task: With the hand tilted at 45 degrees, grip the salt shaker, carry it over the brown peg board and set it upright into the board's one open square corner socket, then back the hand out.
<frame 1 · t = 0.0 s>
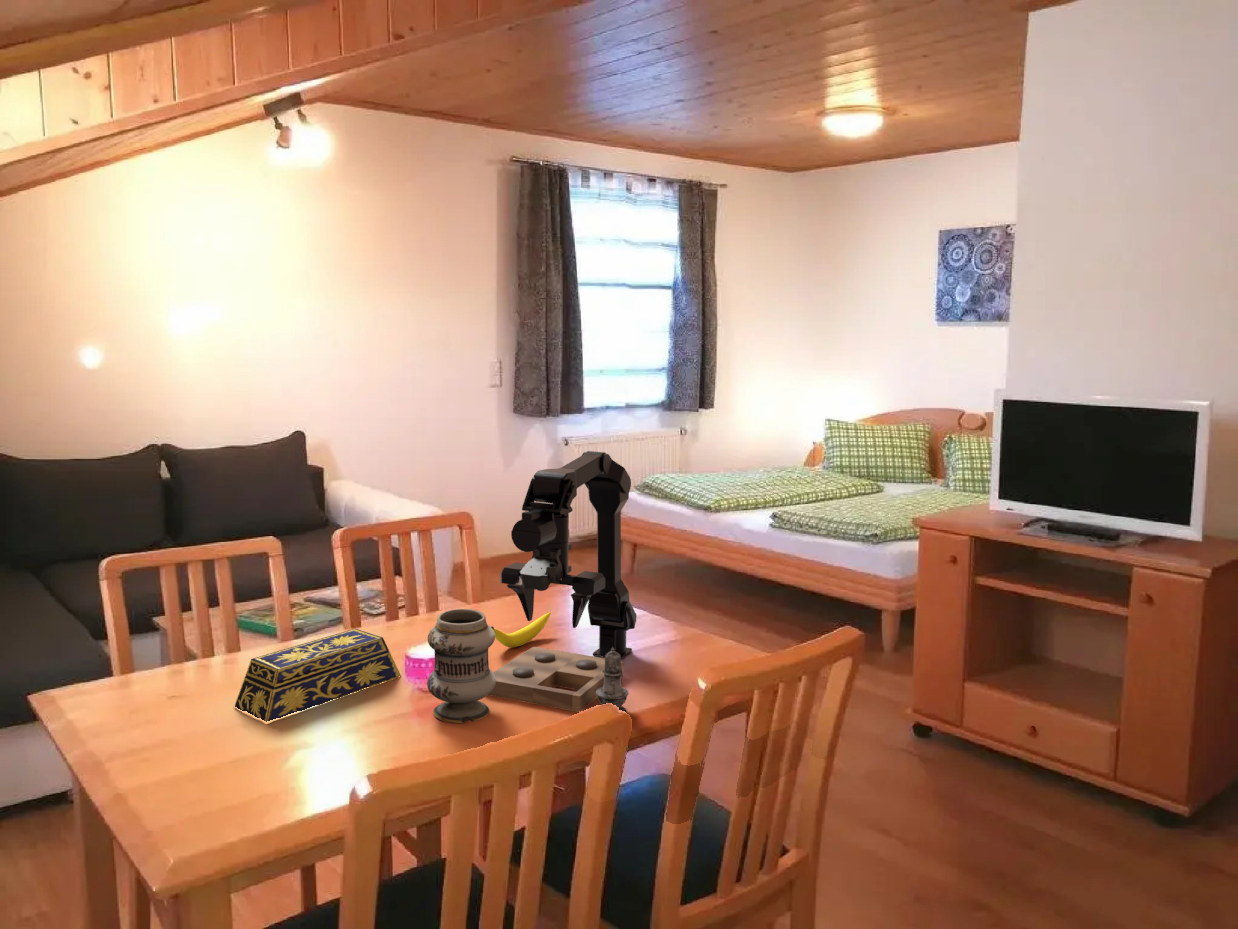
hand: (552, 624, 181), 15 cm above the table, tool pointing down, fingers open, 9 cm apart
brown peg board: (554, 684, 191), on the table
apothecary jar: (462, 713, 177), on the table
decorative box: (320, 695, 186), on the table
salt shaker: (611, 712, 179), on the table
banana: (521, 645, 214), on the table
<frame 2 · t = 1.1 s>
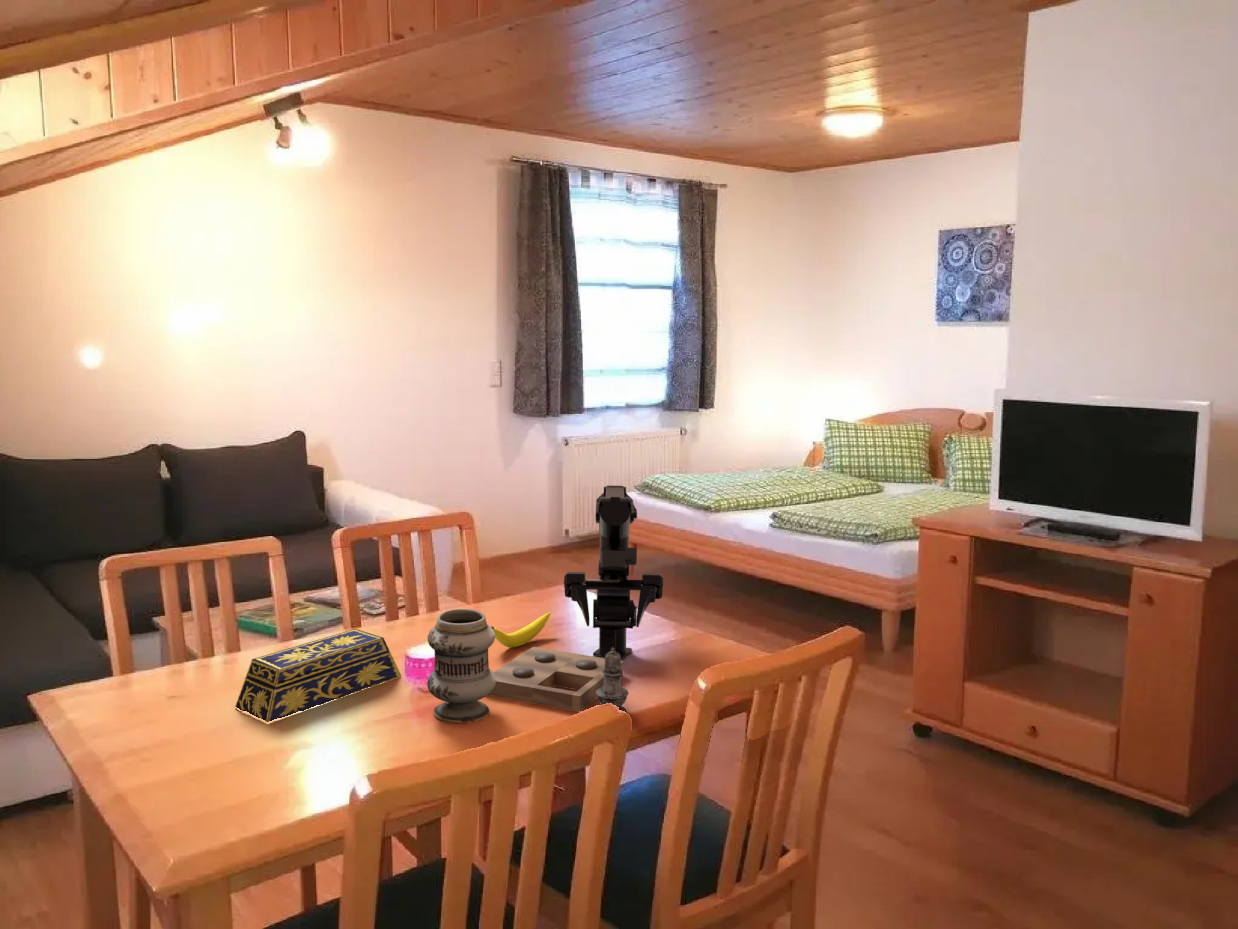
hand: (612, 625, 185), 13 cm above the table, tool tilted 45°, fingers open, 9 cm apart
nothing on the table moved.
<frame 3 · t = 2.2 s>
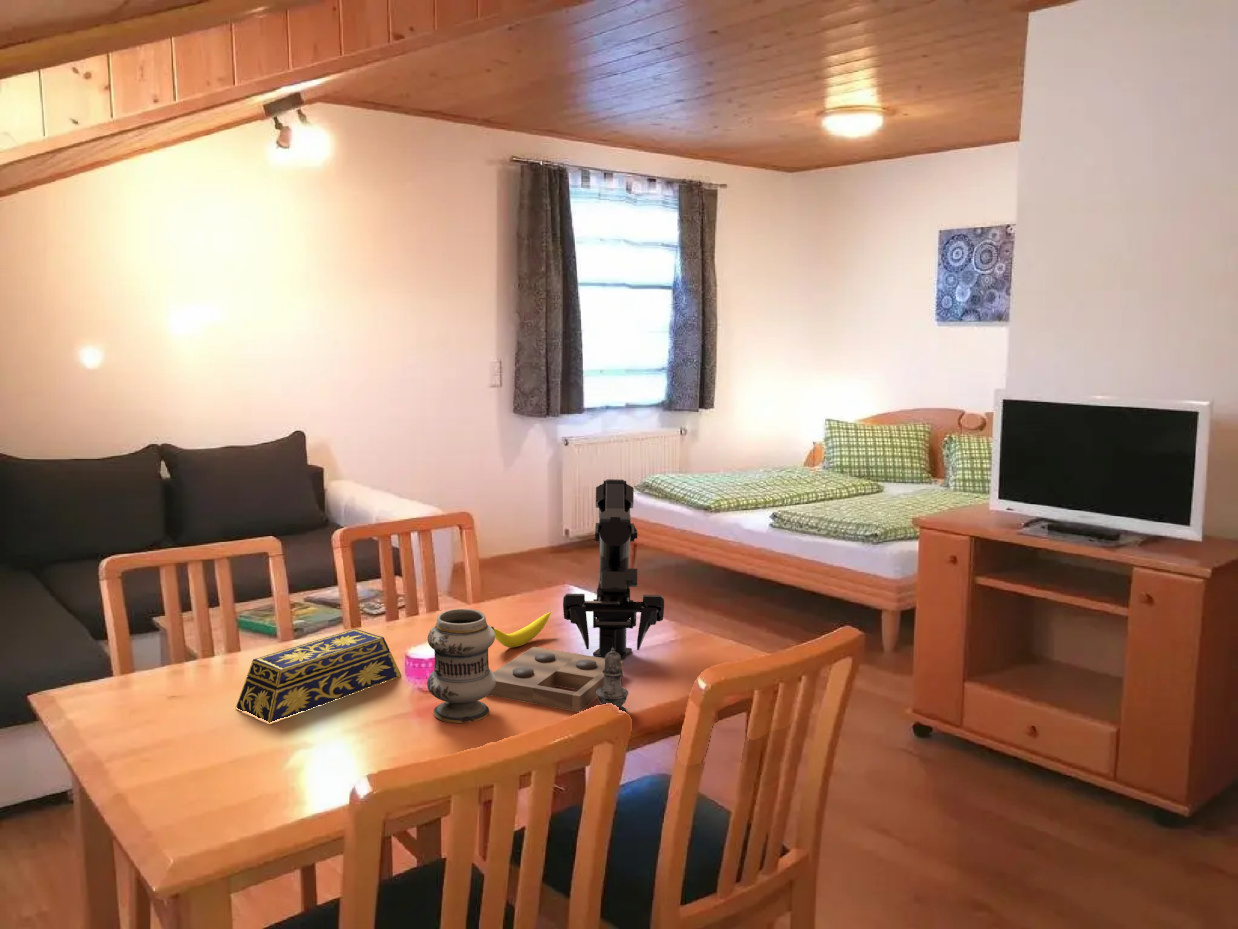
hand: (612, 648, 180), 11 cm above the table, tool tilted 45°, fingers open, 9 cm apart
nothing on the table moved.
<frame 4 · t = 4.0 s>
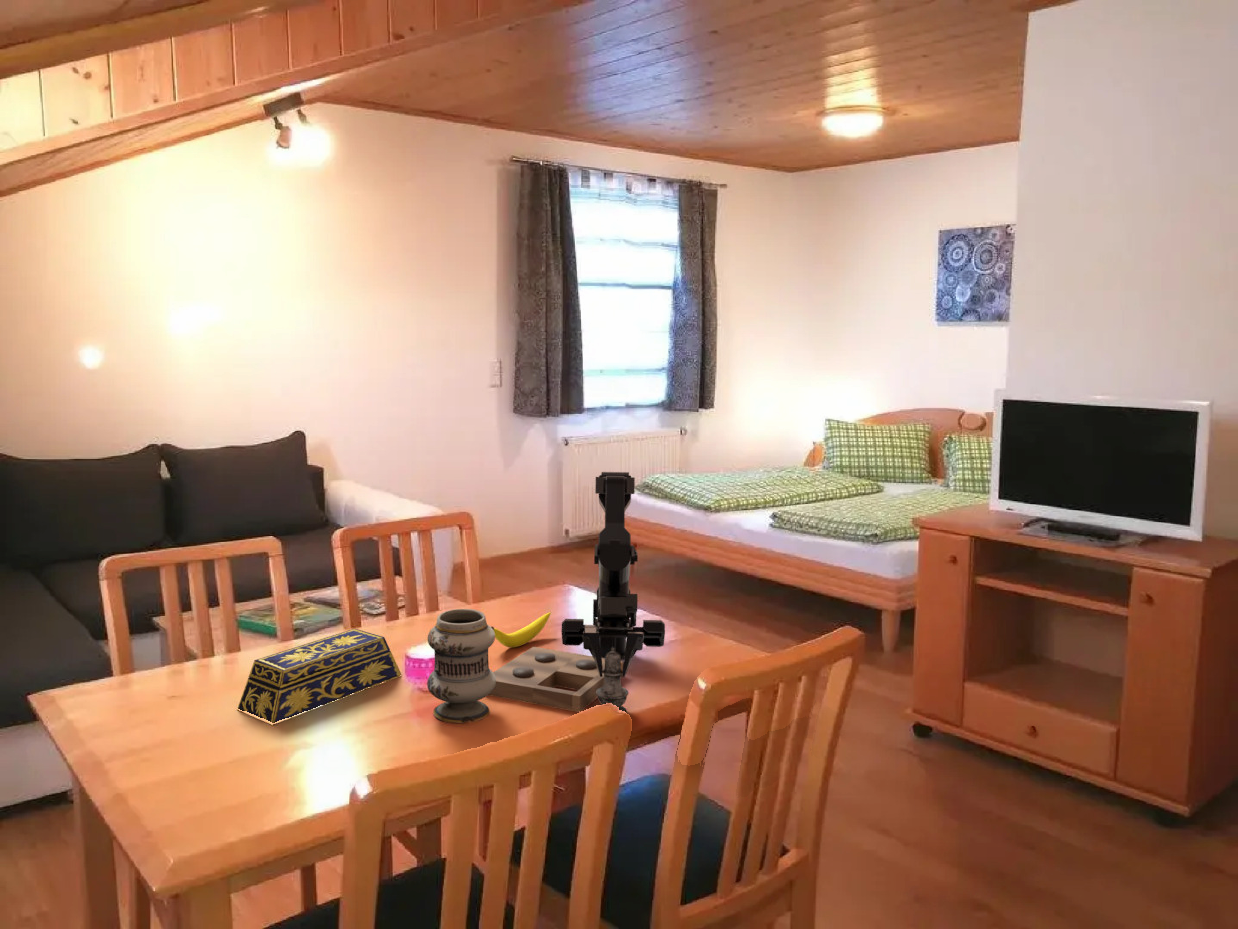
hand: (612, 676, 176), 7 cm above the table, tool tilted 45°, fingers closed on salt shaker, 4 cm apart
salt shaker: (611, 712, 179), on the table, touching gripper
everything else where it was.
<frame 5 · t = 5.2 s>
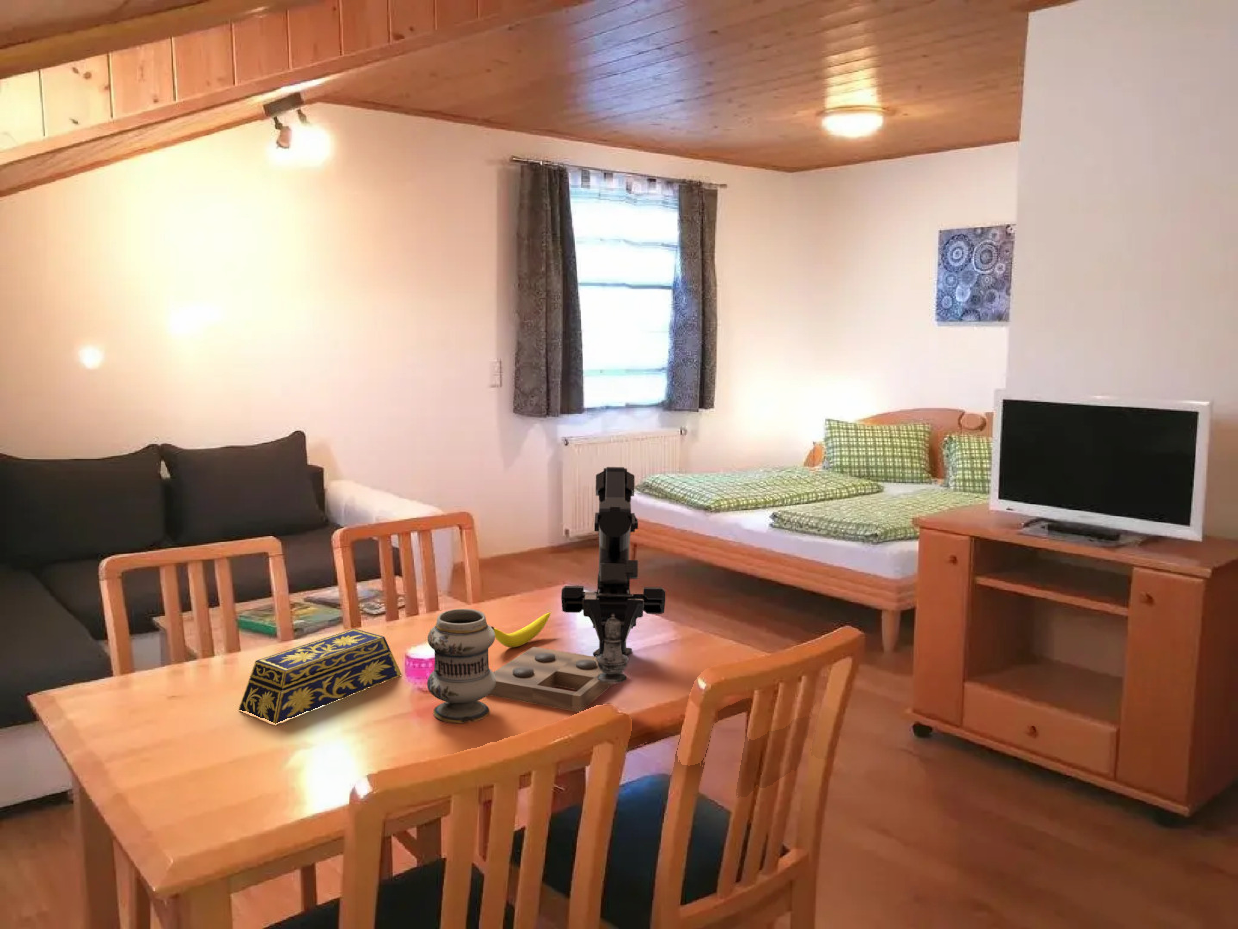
hand: (612, 642, 176), 13 cm above the table, tool tilted 45°, fingers closed on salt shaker, 4 cm apart
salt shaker: (612, 679, 178), point 6 cm above the table, touching gripper
everything else where it was.
when the fingers open (8 cm above the table, at t = 8.2 s): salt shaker stays where it is, resting in brown peg board.
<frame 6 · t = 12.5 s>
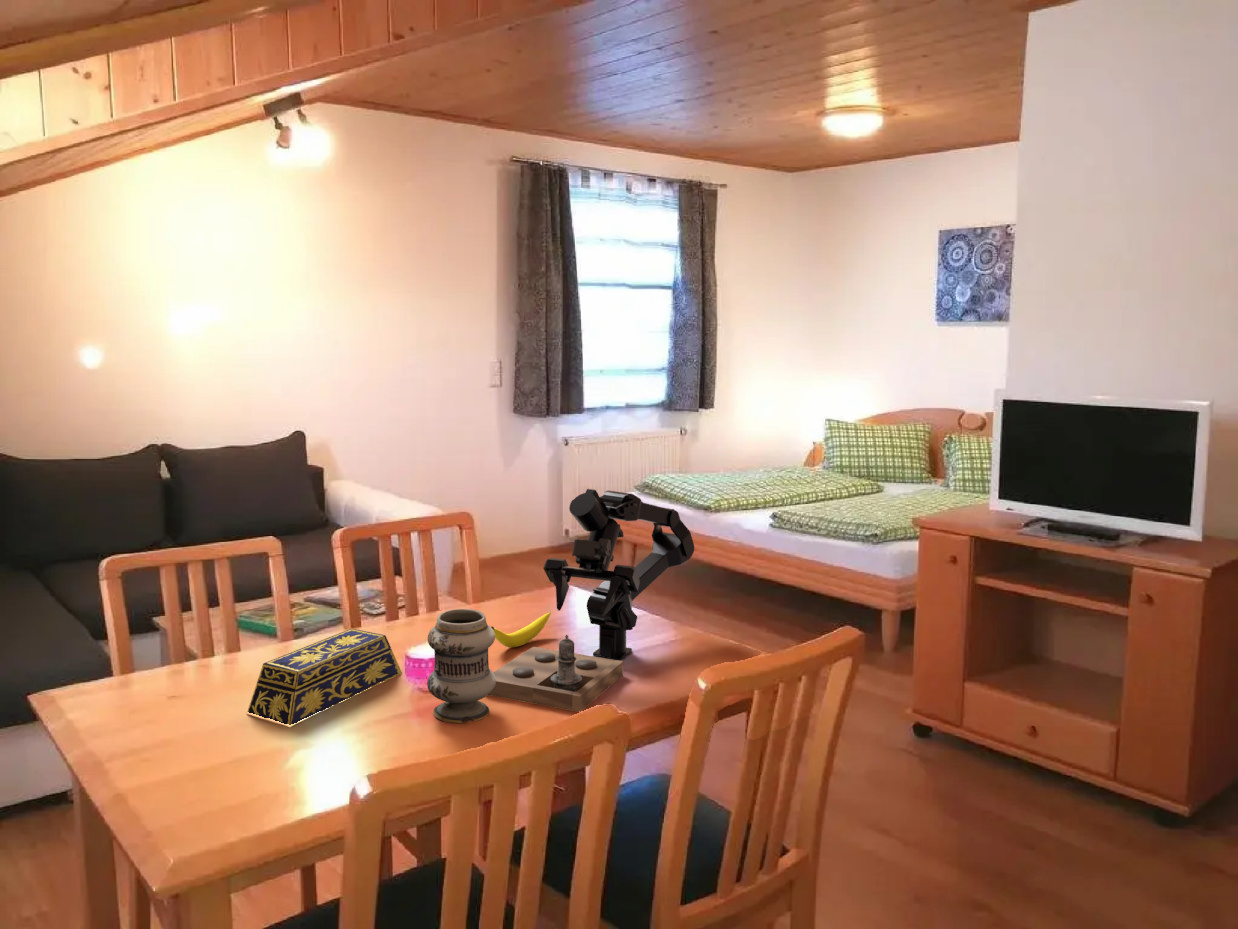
hand: (580, 612, 192), 14 cm above the table, tool tilted 45°, fingers open, 9 cm apart
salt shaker: (566, 697, 185), resting in brown peg board
at the end: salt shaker 0.2 cm from the target spot on the brown peg board, point 0.0 cm above the brown peg board's base; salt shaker tilted 0°; the gripper is holding nothing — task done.
